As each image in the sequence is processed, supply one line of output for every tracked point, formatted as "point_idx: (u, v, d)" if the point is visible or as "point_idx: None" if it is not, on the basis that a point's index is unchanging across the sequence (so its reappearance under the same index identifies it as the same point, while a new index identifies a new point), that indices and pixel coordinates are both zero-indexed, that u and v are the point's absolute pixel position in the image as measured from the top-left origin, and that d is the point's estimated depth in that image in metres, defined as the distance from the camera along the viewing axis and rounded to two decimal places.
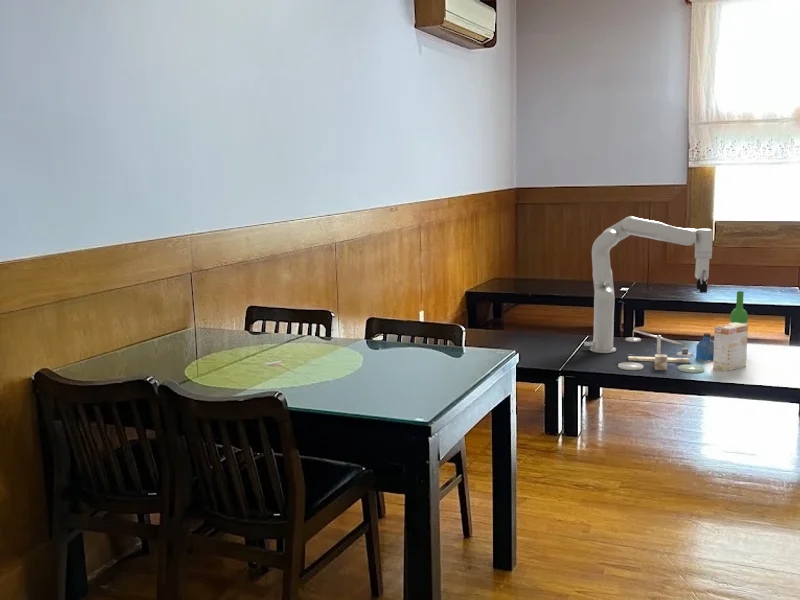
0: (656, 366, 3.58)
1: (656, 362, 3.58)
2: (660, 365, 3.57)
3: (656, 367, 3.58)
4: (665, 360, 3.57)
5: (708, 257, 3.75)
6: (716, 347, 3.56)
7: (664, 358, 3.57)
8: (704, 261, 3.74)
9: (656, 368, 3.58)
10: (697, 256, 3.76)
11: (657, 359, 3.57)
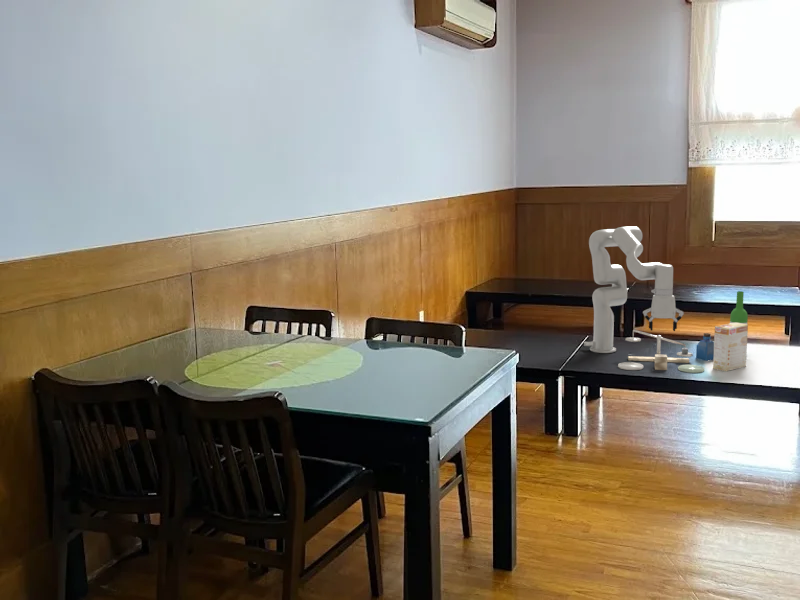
0: (656, 366, 3.58)
1: (656, 362, 3.58)
2: (660, 365, 3.57)
3: (656, 367, 3.58)
4: (665, 360, 3.57)
5: None
6: (716, 347, 3.56)
7: (664, 358, 3.57)
8: None
9: (656, 368, 3.58)
10: (669, 294, 3.51)
11: (657, 359, 3.57)
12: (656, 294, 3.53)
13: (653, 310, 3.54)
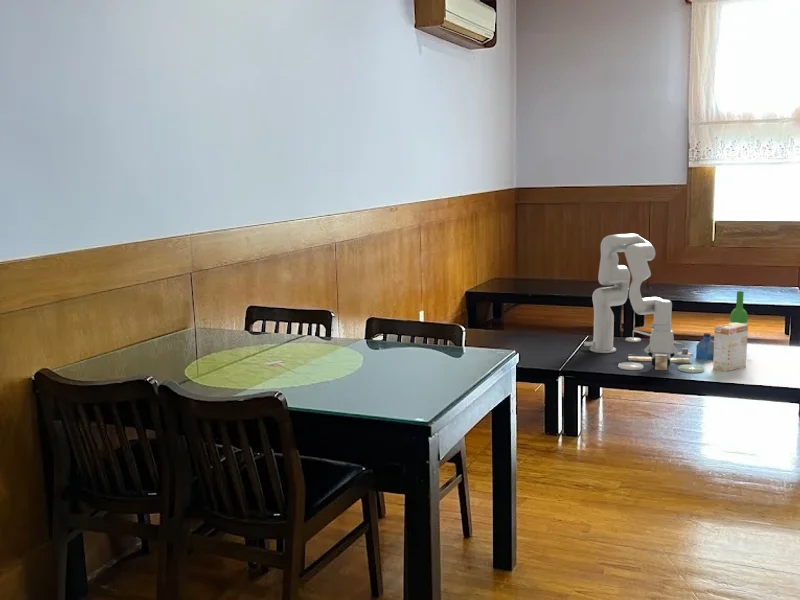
0: (656, 366, 3.58)
1: (656, 362, 3.58)
2: (660, 365, 3.57)
3: (656, 367, 3.58)
4: (665, 360, 3.57)
5: None
6: (716, 347, 3.56)
7: (664, 358, 3.57)
8: None
9: (656, 368, 3.58)
10: (668, 329, 3.54)
11: (657, 359, 3.57)
12: (655, 329, 3.56)
13: (651, 345, 3.57)
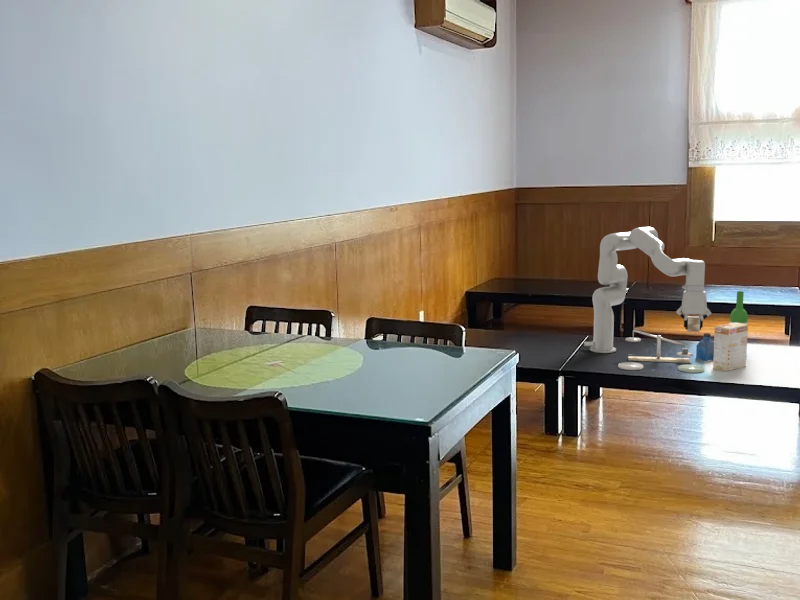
0: (688, 327, 3.52)
1: (688, 324, 3.52)
2: (693, 327, 3.51)
3: (688, 329, 3.52)
4: (698, 321, 3.51)
5: None
6: (716, 347, 3.56)
7: (697, 319, 3.50)
8: None
9: (688, 330, 3.52)
10: (701, 290, 3.48)
11: (689, 321, 3.51)
12: (687, 290, 3.50)
13: (684, 306, 3.51)
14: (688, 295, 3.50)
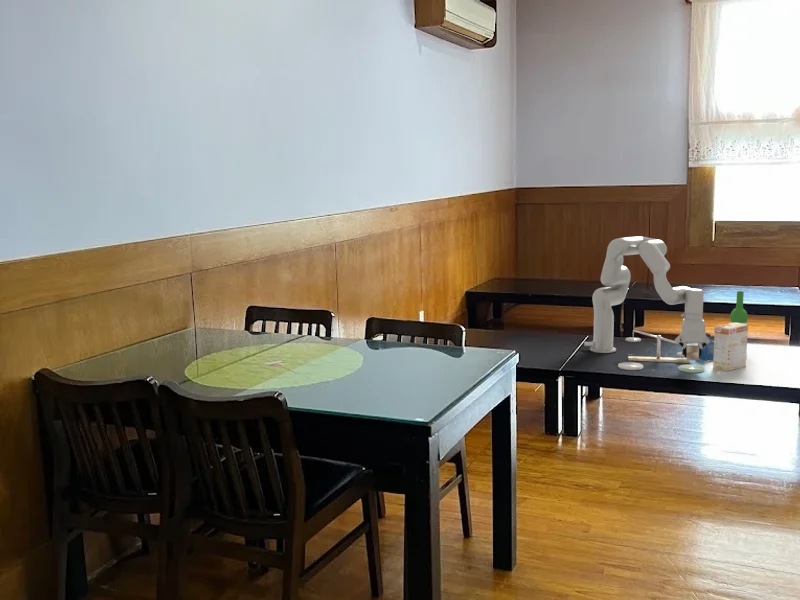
0: (687, 355, 3.54)
1: (687, 352, 3.54)
2: (692, 355, 3.53)
3: (687, 357, 3.54)
4: (697, 349, 3.52)
5: None
6: (716, 347, 3.56)
7: (696, 347, 3.52)
8: None
9: (687, 358, 3.54)
10: (699, 318, 3.50)
11: (688, 349, 3.53)
12: (686, 318, 3.52)
13: (683, 334, 3.53)
14: (687, 323, 3.52)
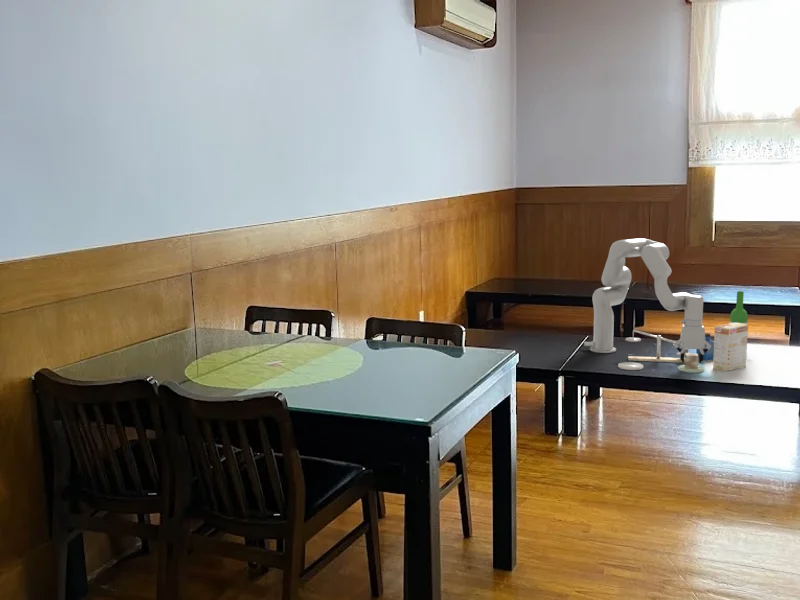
0: (687, 365, 3.55)
1: (687, 361, 3.54)
2: (691, 364, 3.54)
3: (687, 366, 3.55)
4: (696, 359, 3.53)
5: None
6: (716, 347, 3.56)
7: (695, 357, 3.53)
8: None
9: (687, 367, 3.55)
10: (699, 325, 3.50)
11: (687, 358, 3.54)
12: (686, 325, 3.53)
13: (682, 340, 3.53)
14: (686, 330, 3.52)
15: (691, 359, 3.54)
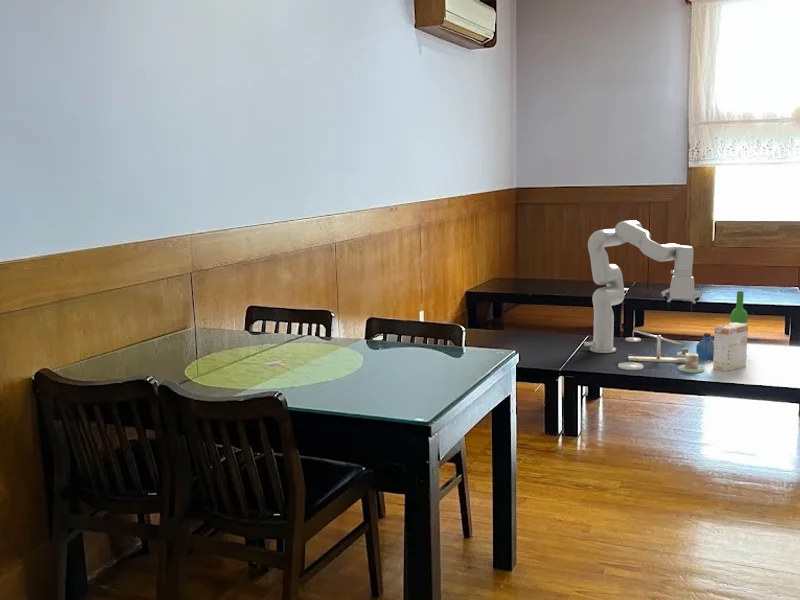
0: (687, 365, 3.55)
1: (687, 361, 3.54)
2: (691, 364, 3.54)
3: (687, 366, 3.55)
4: (696, 359, 3.53)
5: None
6: (716, 347, 3.56)
7: (695, 357, 3.53)
8: None
9: (687, 367, 3.55)
10: (689, 275, 3.54)
11: (687, 358, 3.54)
12: (675, 275, 3.57)
13: (672, 291, 3.58)
14: (676, 280, 3.56)
15: (691, 359, 3.54)
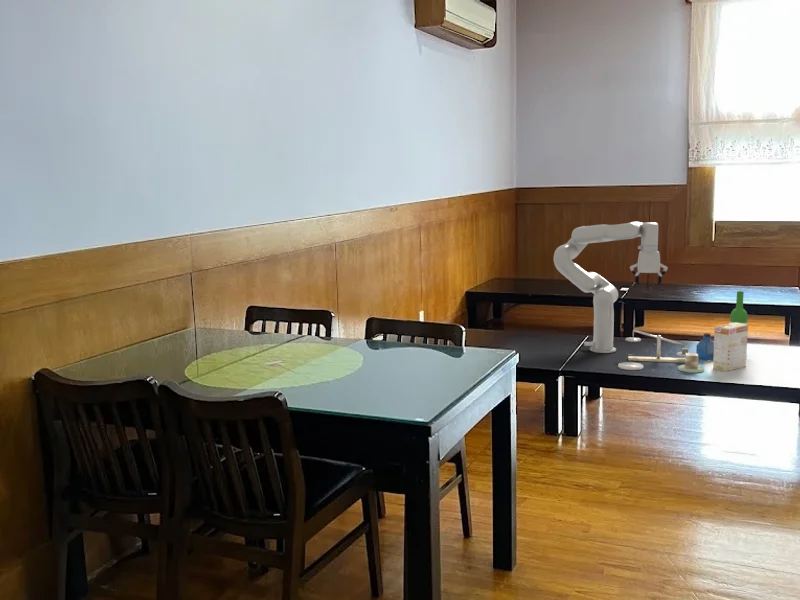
0: (687, 365, 3.55)
1: (687, 361, 3.54)
2: (691, 364, 3.54)
3: (687, 366, 3.55)
4: (696, 359, 3.53)
5: None
6: (716, 347, 3.56)
7: (695, 357, 3.53)
8: None
9: (687, 367, 3.55)
10: (654, 250, 3.76)
11: (687, 358, 3.54)
12: (642, 250, 3.78)
13: (639, 265, 3.79)
14: (643, 255, 3.77)
15: (691, 359, 3.54)
